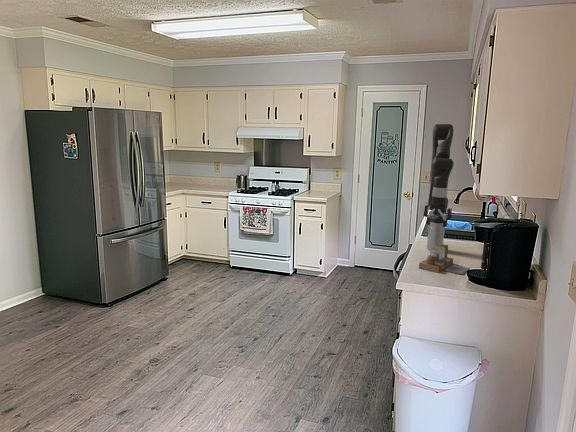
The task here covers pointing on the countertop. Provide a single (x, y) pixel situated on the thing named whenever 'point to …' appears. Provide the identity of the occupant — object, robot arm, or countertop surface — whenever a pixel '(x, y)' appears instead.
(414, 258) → the countertop surface
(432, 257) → the plane body
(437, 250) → the grey labelled box
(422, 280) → the countertop surface
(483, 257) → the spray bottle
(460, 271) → the rubber mat
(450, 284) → the countertop surface
